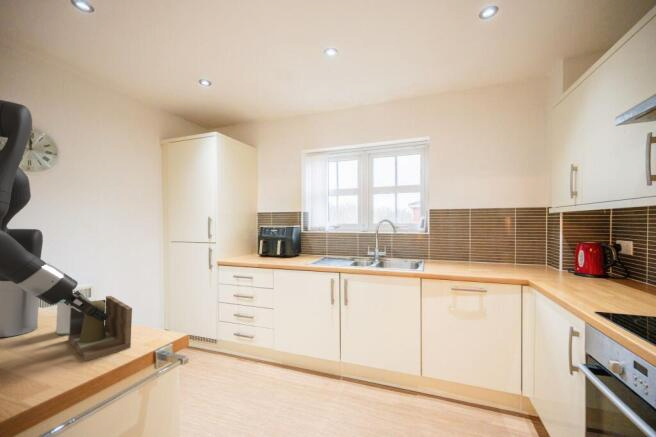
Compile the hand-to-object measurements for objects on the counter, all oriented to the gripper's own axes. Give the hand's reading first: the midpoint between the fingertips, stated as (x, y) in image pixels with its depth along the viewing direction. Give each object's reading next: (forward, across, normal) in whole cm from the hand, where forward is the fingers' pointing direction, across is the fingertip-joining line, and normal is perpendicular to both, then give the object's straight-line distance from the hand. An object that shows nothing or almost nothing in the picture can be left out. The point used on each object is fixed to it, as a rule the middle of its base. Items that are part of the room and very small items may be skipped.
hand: (101, 315), depth 81 cm
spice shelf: (+6, 0, +6) cm, 8 cm away
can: (+4, +18, +8) cm, 20 cm away
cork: (+4, +1, +6) cm, 7 cm away
